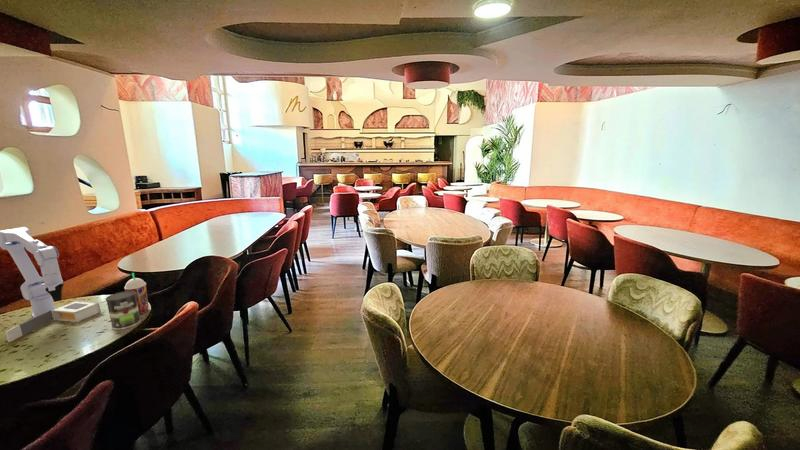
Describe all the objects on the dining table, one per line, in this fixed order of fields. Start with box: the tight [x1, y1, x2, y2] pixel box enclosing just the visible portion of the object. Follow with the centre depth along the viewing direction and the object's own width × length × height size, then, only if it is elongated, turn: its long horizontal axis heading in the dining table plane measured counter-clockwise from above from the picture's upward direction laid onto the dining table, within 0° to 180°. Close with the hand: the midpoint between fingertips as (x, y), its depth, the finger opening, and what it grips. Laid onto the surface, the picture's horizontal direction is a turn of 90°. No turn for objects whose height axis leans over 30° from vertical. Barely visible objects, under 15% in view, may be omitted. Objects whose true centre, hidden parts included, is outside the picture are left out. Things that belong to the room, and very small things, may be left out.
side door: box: [4, 310, 54, 343], centre depth 145 cm, size 1×19×5 cm, turn 4°
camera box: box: [52, 300, 102, 323], centre depth 158 cm, size 10×14×5 cm
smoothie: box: [123, 272, 150, 314], centre depth 160 cm, size 8×8×20 cm
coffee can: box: [105, 290, 142, 331], centre depth 148 cm, size 10×10×14 cm
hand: (58, 300), depth 154 cm, fingers closed
